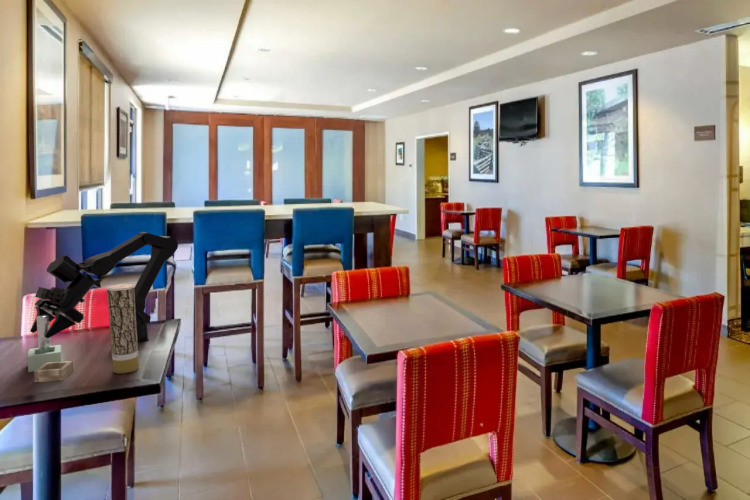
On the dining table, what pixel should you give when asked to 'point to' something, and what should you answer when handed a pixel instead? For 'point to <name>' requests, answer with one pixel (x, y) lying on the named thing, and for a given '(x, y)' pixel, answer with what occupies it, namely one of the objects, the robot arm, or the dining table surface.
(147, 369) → the dining table surface
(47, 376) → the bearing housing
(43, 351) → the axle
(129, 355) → the wooden log
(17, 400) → the dining table surface
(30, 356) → the socket block
